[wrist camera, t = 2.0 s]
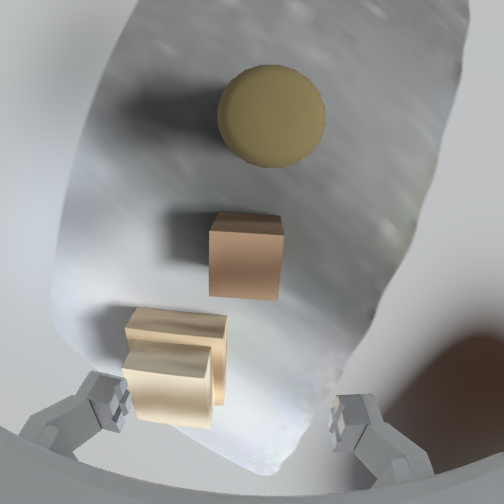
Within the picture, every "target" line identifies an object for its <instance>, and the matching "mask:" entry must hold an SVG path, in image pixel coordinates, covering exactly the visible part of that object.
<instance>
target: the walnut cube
mask: <svg viewBox="0 0 504 504" xmlns="http://www.w3.org/2000/svg"><path fill="white" fill-rule="evenodd" d="M283 243H284V232H283V227H282V222H281V217H280V216H273V215H258V214H242V213H225V212H219V213H218V215H217V217H216V219H215V221H214V223H213V224H212V226H211V228H210V230H209V296H215V297H228V298H242V299H257V300H273V301H277V300H278V291H279V282H280V272H281V263H282V253H283Z"/></svg>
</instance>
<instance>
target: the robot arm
mask: <svg viewBox="0 0 504 504" xmlns="http://www.w3.org/2000/svg"><path fill="white" fill-rule="evenodd" d="M127 386H128V383H127V379H126V378H123V377H118V376H114V375H110V374H106V373H101V372H97V371H93V370H92V371H91V372H89V374H88V376H87V377H86V379H85V380H84V382H83V383H82V385H81V387H80V388H79V390H78V392H77V393H76V395H75V396H73V395H71V396H69V397H67V398H65V399H64V400H61V401H59V402H58V403H56V404H54V405H52V406H50V407H48V408H46V409H44V410H42V411H40V412H37V413H36V414H33V415H31V416H30V418H29V419H28V421H27V422H26V424H25V425H24V427H23V428H22V430H21V432H20V433H19V435H16V434H14V433H12V432H10V431H8V430H6V429H4V428H3V427H1V426H0V504H504V453H498V454H495V455H493V456H490V457H488V458H485V459H482V460H480V461H477V462H474V463H472V464H469V465H466V466H463V467H460V468H457V469H454V470H451V471H447V472H444V473H441V474H438V475H435V474H434V472H433V469H432V466H431V464H430V461H429V458H428V456H427V453H426V452H425V451H424V450H422V449H421V448H420V447H418V446H417V445H416V444H414V443H413V442H412V441H410V440H409V439H408V438H406V437H405V436H404V435H402V434H401V433H400V432H398V431H397V430H396V429H395V428H393V427H392V426H391V425H389V424H388V423H384V422H383V419H382V416H381V413H380V411H379V408H378V405H377V402H376V399H375V397H374V395H373V394H361V395H360V394H355V395H336V396H335V398H334V400H333V404H334V407H333V408H331V410H330V412H329V417H328V427H329V431H330V432H331V433H332V434H333V435H332V437H331V444H332V449H333V452H349V451H353V453H354V454H355V455H356V456H357V457H358V458H359V459H360V460H361V461H362V462H363V463H364V465H365V466H366V467H367V468H368V469H369V470H370V471H371V472H372V473H373V474H374V475H375V476H376V477H377V478H378V480H377V481H376V482H375V484H374V485H373V486H372V487H371V489H367V490H360V491H352V492H344V493H333V494H321V495H302V496H258V495H238V494H226V493H216V492H207V491H199V490H192V489H184V488H179V487H173V486H168V485H163V484H158V483H153V482H148V481H144V480H139V479H135V478H132V477H127V476H124V475H120V474H116V473H113V472H110V471H106V470H103V469H99V468H97V467H93V466H90V465H88V464H85V463H82V462H79V461H78V459H77V458H76V456H75V455H74V453H73V452H72V451H74V450H75V449H76V448H78V447H79V446H81V445H82V444H83V443H85V442H86V441H87V440H89V439H90V438H91V437H93V436H94V435H95V434H97V433H98V432H99V431H100V430H101V429H105V430H109V431H114V432H118V433H120V432H121V430H122V427H123V425H124V423H125V420H124V417H123V416H125V415H126V414H128V413H129V410H130V407H131V402H132V401H131V394H130V392H129V391H128V390H127V389H126V388H127Z"/></svg>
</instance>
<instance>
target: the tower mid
mask: <svg viewBox="0 0 504 504" xmlns="http://www.w3.org/2000/svg"><path fill="white" fill-rule="evenodd" d="M121 369H122V373H123V376H124V378H126V379H127V383H128V386H127V388H128V391H129V392H130V394H131V400H132V403H133V406H134V409H135V412H136V414H137V417H138V419H140V420H146V421H151V422H157V423H164V424H170V425H177V426H185V427H193V428H203V429H210V426H211V420H212V414H213V408H214V402H215V393H214V380H213V365H212V350H211V347H207V346H194V345H183V344H172V343H163V342H153V341H145V340H137V339H136V341H135V342H134V344H133V346H132V348H131V350H130V352H129V354H128V356H127V358H126V359H125V361H124V363H123V365H122V367H121Z"/></svg>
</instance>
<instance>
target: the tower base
mask: <svg viewBox="0 0 504 504" xmlns="http://www.w3.org/2000/svg"><path fill="white" fill-rule="evenodd" d="M124 328H125V333H126V338H127V343H128V347H129V352H130V350H131V348H132V346H133V344H134V342H135V341H136V339H137V340H145V341H153V342H163V343H172V344H183V345H194V346H207V347H211V350H212V365H213V380H214V393H215V402H214V405H223V404H224V396H225V389H226V367H227V316H223V315H210V314H199V313H188V312H178V311H168V310H158V309H150V308H141V307H137V308H136V310H135V311H134V313H133V315H132V316H131V318H130V319H129V321H128V323H127V324H126V326H125V327H124Z"/></svg>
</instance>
